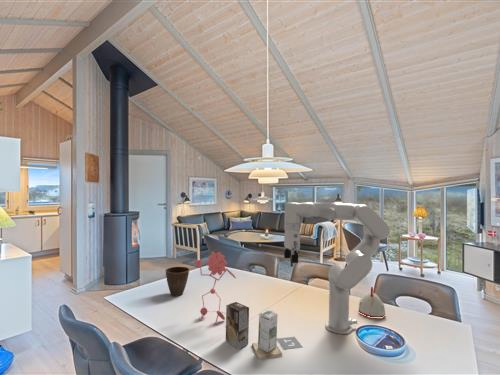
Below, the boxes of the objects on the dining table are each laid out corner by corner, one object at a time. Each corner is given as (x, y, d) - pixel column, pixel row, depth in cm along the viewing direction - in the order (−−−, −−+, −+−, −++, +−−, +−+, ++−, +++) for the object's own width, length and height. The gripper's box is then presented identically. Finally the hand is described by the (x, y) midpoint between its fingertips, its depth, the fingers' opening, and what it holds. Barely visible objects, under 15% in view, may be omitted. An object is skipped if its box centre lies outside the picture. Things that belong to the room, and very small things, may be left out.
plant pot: (183, 299, 172) (183, 273, 173) (160, 297, 174) (161, 271, 175) (191, 291, 187) (192, 267, 187) (170, 289, 189) (171, 266, 190)
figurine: (229, 329, 135) (231, 256, 137) (186, 318, 147) (189, 251, 148) (243, 317, 149) (245, 252, 151) (203, 308, 160) (206, 247, 162)
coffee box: (249, 344, 122) (250, 307, 123) (238, 349, 118) (239, 311, 118) (235, 336, 129) (236, 301, 129) (224, 341, 124) (225, 304, 125)
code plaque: (294, 336, 130) (294, 336, 130) (302, 347, 121) (302, 346, 121) (276, 338, 128) (276, 338, 128) (283, 349, 119) (283, 349, 119)
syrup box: (265, 342, 121) (266, 309, 122) (276, 347, 118) (277, 313, 118) (257, 347, 117) (258, 313, 118) (268, 353, 113) (269, 317, 114)
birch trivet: (273, 343, 124) (273, 340, 124) (281, 356, 114) (282, 352, 114) (252, 345, 121) (252, 342, 121) (258, 359, 111) (258, 355, 111)
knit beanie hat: (357, 315, 155) (357, 288, 156) (359, 307, 168) (359, 282, 168) (385, 321, 149) (385, 293, 150) (385, 311, 162) (385, 286, 162)
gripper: (306, 228, 133) (305, 264, 133) (291, 224, 150) (291, 256, 150) (291, 228, 132) (290, 264, 131) (278, 224, 148) (278, 256, 148)
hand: (290, 260), depth 140 cm, fingers open, 9 cm apart
